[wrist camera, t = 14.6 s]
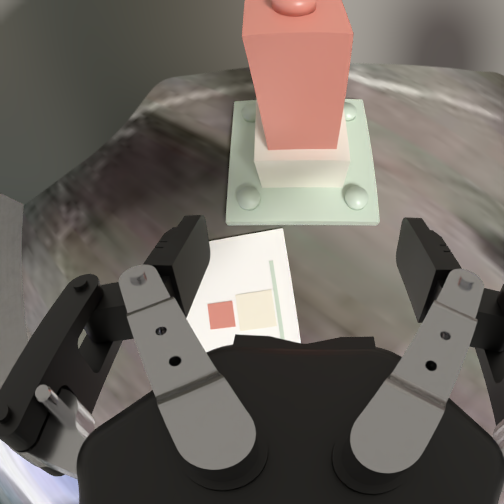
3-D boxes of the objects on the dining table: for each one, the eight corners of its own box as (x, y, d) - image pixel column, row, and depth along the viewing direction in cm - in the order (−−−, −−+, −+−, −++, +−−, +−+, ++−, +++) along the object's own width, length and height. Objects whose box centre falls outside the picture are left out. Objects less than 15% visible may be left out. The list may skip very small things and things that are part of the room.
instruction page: (282, 228, 25) (282, 228, 24) (306, 381, 22) (306, 381, 22) (175, 248, 26) (174, 247, 25) (193, 392, 23) (192, 392, 23)
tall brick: (329, 97, 20) (336, -26, 10) (336, 149, 19) (355, 19, 9) (268, 99, 21) (243, -23, 11) (268, 150, 20) (238, 22, 10)
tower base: (361, 106, 26) (369, 67, 21) (376, 225, 23) (395, 201, 18) (236, 107, 28) (223, 69, 22) (228, 225, 25) (209, 201, 20)
